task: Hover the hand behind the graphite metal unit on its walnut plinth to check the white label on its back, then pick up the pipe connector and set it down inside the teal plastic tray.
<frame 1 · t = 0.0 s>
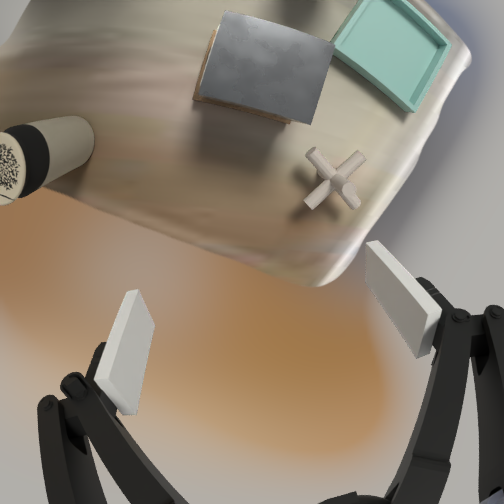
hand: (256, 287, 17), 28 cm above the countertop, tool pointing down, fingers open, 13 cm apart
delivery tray: (390, 44, 33), on the countertop
travel mug: (72, 141, 36), on the countertop
pipe connector: (322, 170, 42), on the countertop
mounted unit: (251, 76, 35), on the countertop
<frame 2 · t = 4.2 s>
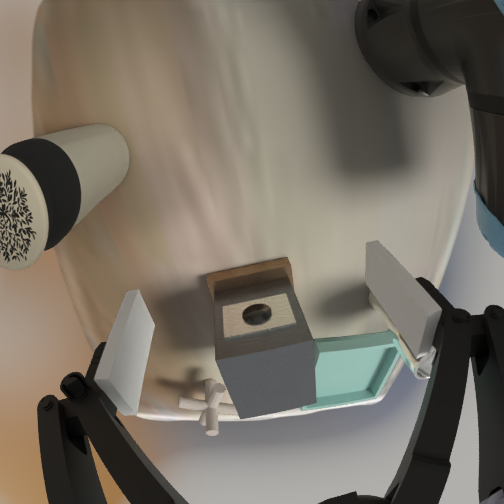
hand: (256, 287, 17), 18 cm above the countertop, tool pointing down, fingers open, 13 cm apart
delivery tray: (347, 367, 49), on the countertop
travel mug: (98, 158, 29), on the countertop
pipe connector: (210, 381, 46), on the countertop
beer glass: (385, 290, 42), on the countertop
mounted unit: (256, 307, 40), on the countertop
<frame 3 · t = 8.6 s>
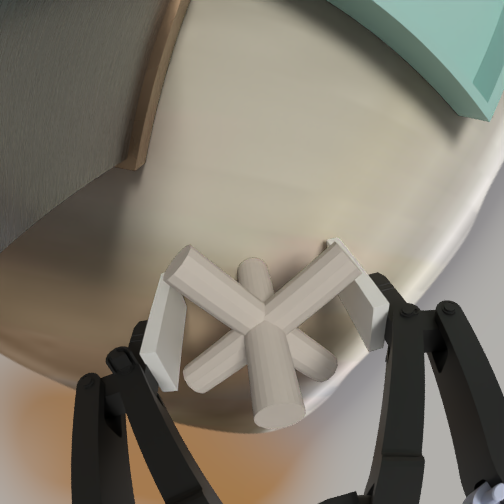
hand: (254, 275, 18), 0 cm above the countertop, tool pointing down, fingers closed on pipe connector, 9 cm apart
pipe connector: (252, 269, 18), on the countertop, touching gripper
mounted unit: (59, 61, 11), on the countertop
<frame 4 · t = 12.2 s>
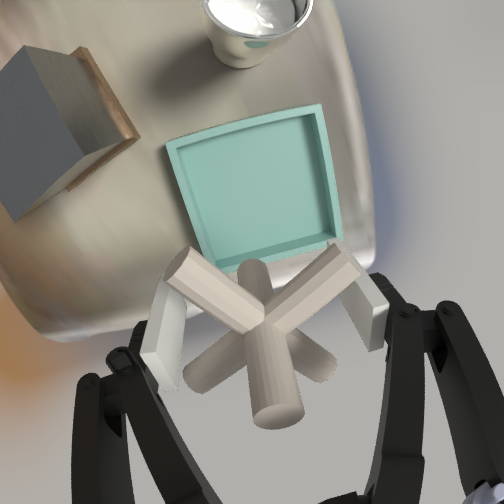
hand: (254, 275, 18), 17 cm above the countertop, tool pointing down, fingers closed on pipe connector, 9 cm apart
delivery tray: (259, 187, 33), on the countertop
pipe connector: (252, 270, 18), point 17 cm above the countertop, touching gripper
beer glass: (241, 43, 26), on the countertop
mounted unit: (78, 117, 27), on the countertop
when the fingers open (4 cm above the countertop, at t = 15.5 s): pipe connector drops 3 cm, resting on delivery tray.
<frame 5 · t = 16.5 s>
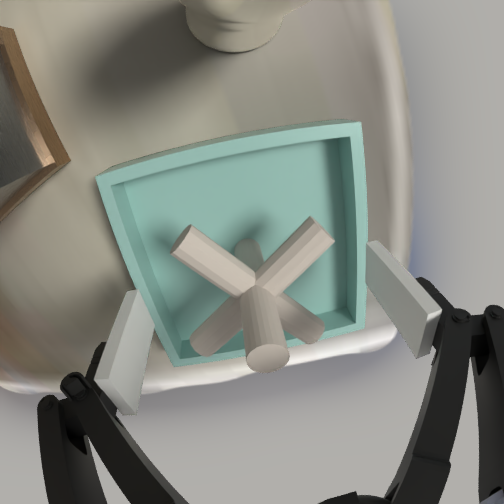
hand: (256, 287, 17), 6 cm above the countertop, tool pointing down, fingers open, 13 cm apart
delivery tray: (247, 245, 22), on the countertop
pipe connector: (247, 249, 21), point 1 cm above the countertop, touching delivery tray
beer glass: (234, 12, 14), on the countertop
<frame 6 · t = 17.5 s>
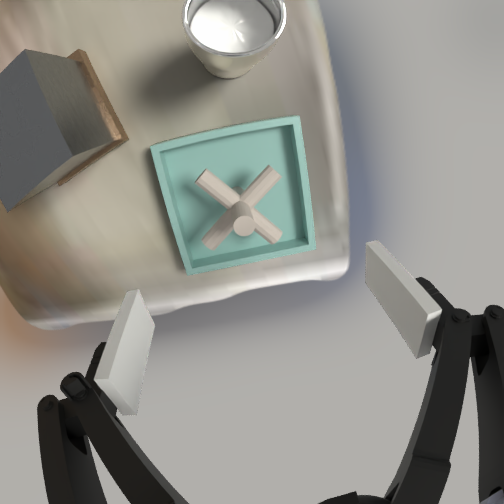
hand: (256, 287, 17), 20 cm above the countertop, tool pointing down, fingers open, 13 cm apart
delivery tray: (237, 192, 35), on the countertop
pipe connector: (236, 193, 34), point 1 cm above the countertop, touching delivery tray
beer glass: (228, 53, 28), on the countertop
mounted unit: (72, 116, 28), on the countertop
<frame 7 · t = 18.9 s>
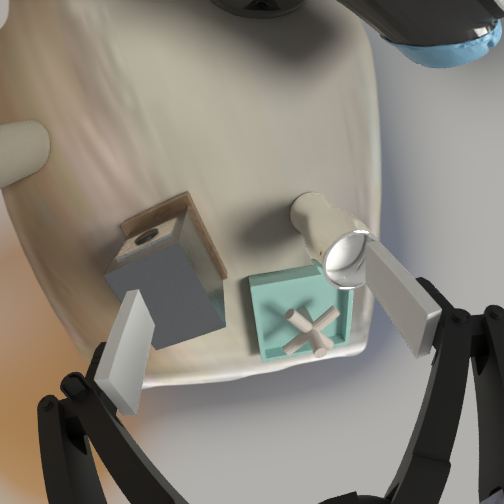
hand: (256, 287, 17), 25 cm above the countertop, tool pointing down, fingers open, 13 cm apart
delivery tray: (301, 308, 49), on the countertop
travel mug: (30, 146, 32), on the countertop
pipe connector: (301, 310, 48), point 1 cm above the countertop, touching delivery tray
beer glass: (310, 212, 42), on the countertop
mounted unit: (175, 246, 42), on the countertop
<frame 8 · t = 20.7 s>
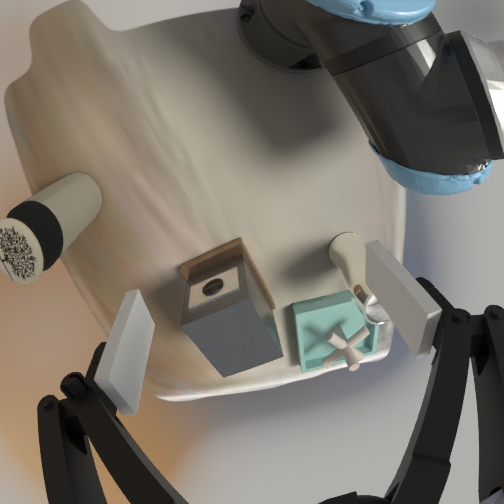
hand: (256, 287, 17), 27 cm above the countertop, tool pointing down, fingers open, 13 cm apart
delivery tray: (335, 326, 55), on the countertop
travel mug: (80, 197, 39), on the countertop
pipe connector: (336, 328, 54), point 1 cm above the countertop, touching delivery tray
beer glass: (345, 248, 47), on the countertop
mounted unit: (229, 283, 48), on the countertop
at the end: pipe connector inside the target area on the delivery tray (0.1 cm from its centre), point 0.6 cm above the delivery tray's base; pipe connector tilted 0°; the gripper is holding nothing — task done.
